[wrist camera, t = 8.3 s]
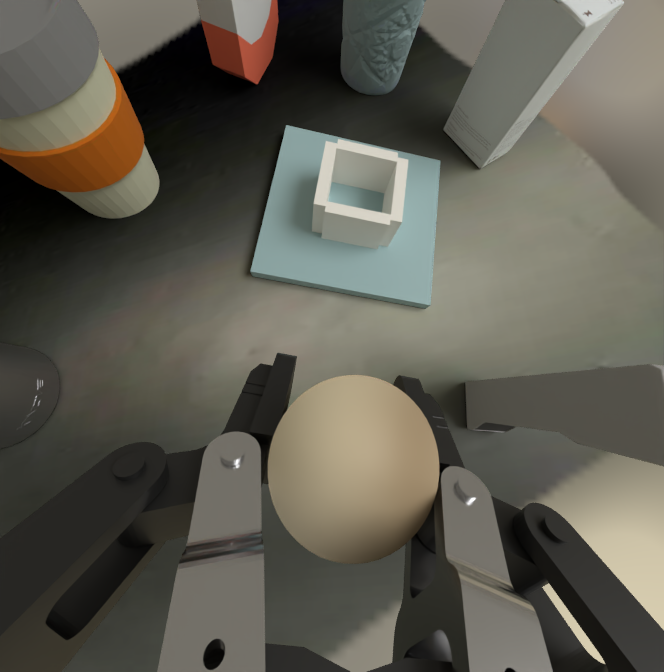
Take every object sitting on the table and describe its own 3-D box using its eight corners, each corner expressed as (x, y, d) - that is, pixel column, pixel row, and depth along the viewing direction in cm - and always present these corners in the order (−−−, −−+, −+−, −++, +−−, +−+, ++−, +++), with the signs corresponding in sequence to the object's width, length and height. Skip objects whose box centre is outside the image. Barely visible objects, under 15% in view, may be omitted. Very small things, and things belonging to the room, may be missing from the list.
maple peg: (280, 452, 15) (248, 551, 6) (294, 382, 16) (288, 361, 6) (349, 463, 16) (432, 574, 6) (359, 393, 16) (445, 390, 7)
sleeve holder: (252, 276, 30) (241, 248, 24) (286, 134, 34) (283, 84, 29) (425, 308, 31) (452, 289, 26) (435, 168, 36) (460, 126, 30)
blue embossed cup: (399, 107, 38) (442, -23, 26) (327, 90, 37) (340, -52, 25) (405, 55, 40) (447, -86, 28) (338, 38, 39) (354, -114, 28)
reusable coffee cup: (199, 187, 31) (111, 6, 17) (106, 255, 28) (-97, 107, 14) (126, 120, 32) (-18, -106, 18) (28, 180, 29) (-240, -33, 15)
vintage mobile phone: (465, 429, 29) (1385, 608, 4) (463, 381, 30) (1181, 313, 5) (498, 431, 29) (1522, 609, 5) (495, 384, 30) (1302, 330, 6)
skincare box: (506, 154, 38) (632, 4, 23) (477, 172, 36) (591, 25, 22) (467, 112, 39) (566, -57, 24) (438, 128, 37) (523, -40, 23)
